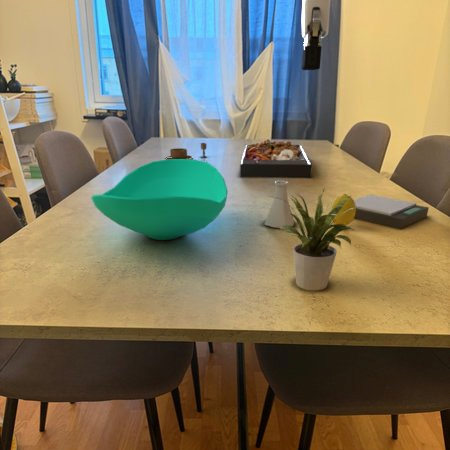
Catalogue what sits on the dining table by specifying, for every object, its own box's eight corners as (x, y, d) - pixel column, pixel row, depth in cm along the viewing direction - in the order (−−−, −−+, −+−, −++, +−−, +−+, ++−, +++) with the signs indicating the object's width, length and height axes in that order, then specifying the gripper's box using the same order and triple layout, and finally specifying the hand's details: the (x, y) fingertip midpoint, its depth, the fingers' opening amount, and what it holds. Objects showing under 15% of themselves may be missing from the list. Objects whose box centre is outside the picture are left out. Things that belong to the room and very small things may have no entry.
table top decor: (213, 272, 78) (211, 200, 72) (69, 265, 82) (56, 196, 76) (236, 211, 113) (236, 159, 107) (134, 208, 117) (129, 158, 111)
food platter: (310, 177, 150) (313, 146, 146) (240, 177, 152) (240, 146, 148) (301, 156, 190) (302, 131, 186) (245, 156, 192) (245, 131, 187)
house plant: (258, 300, 68) (262, 198, 61) (265, 266, 81) (268, 178, 73) (351, 306, 66) (366, 201, 59) (343, 271, 79) (355, 180, 71)
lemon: (328, 230, 99) (332, 196, 95) (329, 223, 104) (332, 190, 100) (353, 232, 98) (358, 197, 94) (353, 225, 103) (357, 191, 99)
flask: (299, 222, 105) (302, 180, 100) (287, 230, 99) (290, 187, 95) (272, 218, 108) (273, 177, 103) (259, 226, 103) (260, 183, 98)
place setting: (161, 159, 187) (160, 144, 184) (205, 156, 192) (205, 142, 190) (169, 166, 172) (168, 150, 170) (216, 162, 178) (216, 147, 175)
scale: (426, 216, 108) (429, 205, 107) (400, 229, 100) (402, 216, 98) (369, 204, 119) (370, 193, 117) (340, 215, 110) (342, 203, 109)
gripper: (343, -42, 76) (332, 69, 84) (332, -22, 91) (324, 70, 99) (299, -40, 76) (293, 69, 84) (296, -21, 92) (291, 70, 100)
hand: (310, 69), depth 92 cm, fingers open, 9 cm apart
